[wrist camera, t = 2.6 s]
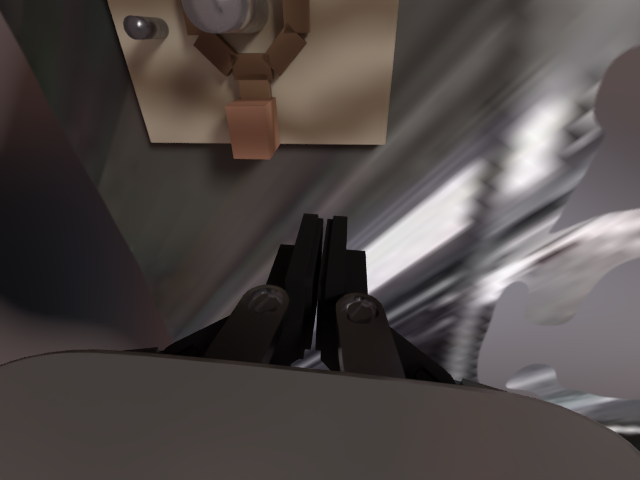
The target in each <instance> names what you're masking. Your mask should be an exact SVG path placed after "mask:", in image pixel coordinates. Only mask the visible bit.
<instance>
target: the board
mask: <svg viewBox="0 0 640 480" xmlns="http://www.w3.org/2000/svg"><path fill="white" fill-rule="evenodd" d="M107 1H108V4H109V8H110V11H111V14H112V17H113V21H114V24H115V27H116V30H117V34H118V37H119V40H120V43H121V47H122V50H123V53H124V56H125V59H126V63H127V66H128V69H129V72H130V76H131V79H132V82H133V85H134V89H135V92H136V95H137V98H138V102H139V105H140V108H141V111H142V114H143V118H144V121H145V124H146V127H147V131H148V134H149V137H150V140H151V143H231V139H230V134H229V128H228V122H227V116H226V110H225V106H226V105H228V104H230V103H231V102H233V101H235V100H237V99H239V98H240V90H239V83H238V80H234V76H233V71H232V73H231V74H230V75H229V76H225V75H223V74H222V73H221V72H220V71H219V70H218V69H217V68H216V67H215V66H214V65H213V64H212V63H211V62H210V61H209V60H208V59H207V58H206V57H205V56H204V55H203V54H202V53H201V52H200V51H199V50H198V49H197V48H196V47H194V46H193V45H194V43H195V41H196V40H197V38H198V36H199V35H188V34H187V30H186V25H185V20H184V15H183V10H182V5H181V1H180V0H107ZM267 2H268V6H269V17H268V21H267V23H266V25H265V27H264V28H263V29H262V30H261V31H259V32H257V33H219V34H220V35H221V36H222V37H223V38H224V39H225V40H226V41H227V42H228V43H229V44H230V45H231V46H232V47H233V48H234V49H235V50H236V51H237V52H238V53H265V52H266V51H267V50H268V48H269V47H270V46H271V44H272V43H273V41H274V40H275V39H276V37H277V36H278V35H279V33H280V32H281V31H282V29H283V28H284V18H283V3H282V0H267ZM398 5H399V0H310V33H299V34H300V35H301V36H302V37H303V39H304V40H305V41H306V42H307V44H306V45H305V46H304V48H303V49H302V50H301V51H300V53H299V54H298V55H297V56H296V58H295V59H294V60H293V61H292V63H291V64H290V65H289V66H288V68H287V69H286V70H285V71H284V73H283V74H282V75H281V76H279V75H278V74H277V73H276V72H275V71H274V79H273V80H271V90H272V97H276V107H277V118H278V130H279V141H280V144H362V145H385V141H386V131H387V120H388V110H389V99H390V89H391V79H392V68H393V58H394V47H395V37H396V26H397V16H398ZM128 15H133V16H145V17H157V18H161V19H163V20H164V21H165V22H166V23H167V25H168V28H169V34H168V36H167V38H165V39H145V40H135V39H132V38H131V37H129V36H128V35H127V33H126V32H125V30H124V26H123V21H124V18H125V17H126V16H128Z"/></svg>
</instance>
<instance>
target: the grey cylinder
mask: <svg viewBox="0 0 640 480" xmlns="http://www.w3.org/2000/svg"><path fill="white" fill-rule="evenodd" d="M181 2H182V6H183V9H184V11H185V13H186V15H187V17H188V18H189V20H190V21H191V22H192V23H193V24H194V25H195V26H196V27H197V28H199V29H200V30H202V31H204V32H207V33H257V32H259V31H261V30H262V29H263V28H264V27H265V25H266V23H267V21H268V17H269V6H268V2H267V0H181ZM123 26H124V30H125V32H126V33H127V35H128V36H129V37H131V38H132V39H135V40H145V39H165V38H167V36H168V34H169V28H168V25H167V23H166V22H165V21H164V20H163V19H161V18H157V17H145V16H133V15H128V16H126V17H125V18H124V21H123Z"/></svg>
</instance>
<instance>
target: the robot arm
mask: <svg viewBox="0 0 640 480" xmlns="http://www.w3.org/2000/svg"><path fill="white" fill-rule="evenodd" d="M322 239H323V219H322V218H318V214H304V215H303V219H302V222H301V226H300V229H299V233H298V236H297V240H296V243H295V245H284V244H281V245H280V247H279V250H278V253H277V256H276V258H275V261H274V264H273V267H272V269H271V272H270V275H269V278H268V281H267V283H266V285H260V286H257V287H254V288H252V289H250V290H249V291H247V292H246V293H245V294H244V295H243V297H242V298H241V300H240V301H239V303H238V304H237V306H236V307H235V309H234V310H233V312H232V313H231V315H230V316H228V317H225V318H223V319H221V320H219V321H217V322H215V323H213V324H211V325H209V326H207V327H205V328H203V329H201V330H199V331H197V332H195V333H193V334H191V335H189V336H187V337H185V338H183V339H181V340H179V341H176V342H175V343H173V344H171V345H170V346H168V347H167V348H166V349H165V350H164V351H159V349H158V347H155V348H145V349H133V350H123V351H118V350H97V349H96V350H95V349H92V350H67V351H57V352H48V353H43V354H38V355H33V356H28V357H24V358H20V359H17V360H13V361H10V362H7V363H5V364H1V365H0V480H640V452H639V451H638V450H637V449H636V448H635V447H634V446H633V445H632V444H630V443H629V442H628V441H627V440H625V439H624V438H623V437H621V436H620V435H618V434H617V433H616V432H614V431H612V430H611V429H609V428H607V427H605V426H604V425H602V424H600V423H598V422H596V421H594V420H592V419H590V418H588V417H586V416H584V415H581V414H579V413H576V412H574V411H572V410H569V409H567V408H564V407H562V406H559V405H556V404H553V403H550V402H547V401H543V400H540V399H537V398H533V397H529V396H524V395H520V394H515V393H510V392H507V391H504V390H500V389H497V388H493V387H490V386H487V385H483V384H480V383H477V382H474V381H470V380H467V379H464V378H463V379H462V381H461V382H460V381H456V380H454V379H453V378H452V376H451V375H450V374H449V373H448V372H447V371H446V370H445V369H443V368H442V367H441V366H439V365H438V364H437V363H436V362H434V361H433V360H432V359H430V358H429V357H428V356H427V355H425V354H424V353H423V352H421V351H420V350H419V349H418V348H416V347H415V346H414V345H413V344H411V343H410V342H409V341H407V340H406V339H405V338H404V337H402V336H401V335H400V334H398V333H397V332H396V331H395V330H393V329H392V328H391V327H390V326H389V323H388V320H387V317H386V314H385V311H384V308H383V306H382V304H381V303H380V302H379V301H378V300H377V299H376V298H374V297H372V296H370V295H368V290H367V272H366V254H365V251H358V250H346V243H347V217H344V216H333V219H328V220H327V227H326V234H325V241H324V247H323V254H322ZM321 260H322V261H321ZM317 301H318V303H317ZM316 308H317V326H316V350H319V351H321V361H322V362H323V363H324V364H325V365H326V366H327V367H328V368H329V369H330V371H329V370H319V369H310V368H300V367H291V364H292V363H293V362H295V361H296V360H298V359H303V357H304V351H305V349H309V350H310V349H311V344H312V337H313V329H314V322H315V315H316Z"/></svg>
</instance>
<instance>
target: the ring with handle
mask: <svg viewBox="0 0 640 480" xmlns="http://www.w3.org/2000/svg"><path fill="white" fill-rule="evenodd" d="M180 1H181V0H180ZM282 3H283V18H284V28H283V29H282V31H281V32H280V33H279V35H278V36H277V37H276V39H275V40H274V41H273V43H272V44H271V46H270V47H269V48H268V50H267V51H266V52H265V53H238V52H237V51H236V50H235V49H234V48H233V47H232V46H231V45H230V44H229V43H228V42H227V41H226V40H225V39H224V38H223V37H222V36H221V35H220V34H219V33H207V32H204V31H202V30H200V29H199V28H197V27H196V26H195V25H194V24H193V23H192V22H191V21H190V20H189V18H188V17H187V15H186V13H185V11H184V9H183V6H182V10H183V15H184V20H185V25H186V30H187V34H188V35H199V36H198V38H197V40H196V41H195V43H194V45H193V46H194V47H196V48H197V49H198V50H199V51H200V52H201V53H202V54H203V55H204V56H205V57H206V58H207V59H208V60H209V61H210V62H211V63H212V64H213V65H214V66H215V67H216V68H217V69H218V70H219V71H220V72H221V73H222V74H223V75H225V76H229V75H230V74H231V73H232V71H233V76H234V80H238V83H239V90H240V98H239V99H237V100H235V101H233V102H231V103H230V104H228V105H226V106H225V110H226V116H227V122H228V128H229V134H230V139H231V145H232V151H233V157H234V159H271V157H272V156H273V154H274V153H275V151H276V150H277V148H278V147H279V145H280V141H279V130H278V118H277V107H276V97H272V90H271V80H273V79H274V71H275V72H276V73H277V74H278V75H279V76H281V75H282V74H283V73H284V71H285V70H286V69H287V68H288V66H289V65H290V64H291V63H292V61H293V60H294V59H295V58H296V56H297V55H298V54H299V53H300V51H301V50H302V49H303V48H304V46H305V45H306V44H307V42H306V41H305V40H304V39H303V37H302V36H301V35H300V34H299V33H310V0H282ZM181 5H182V2H181Z"/></svg>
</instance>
